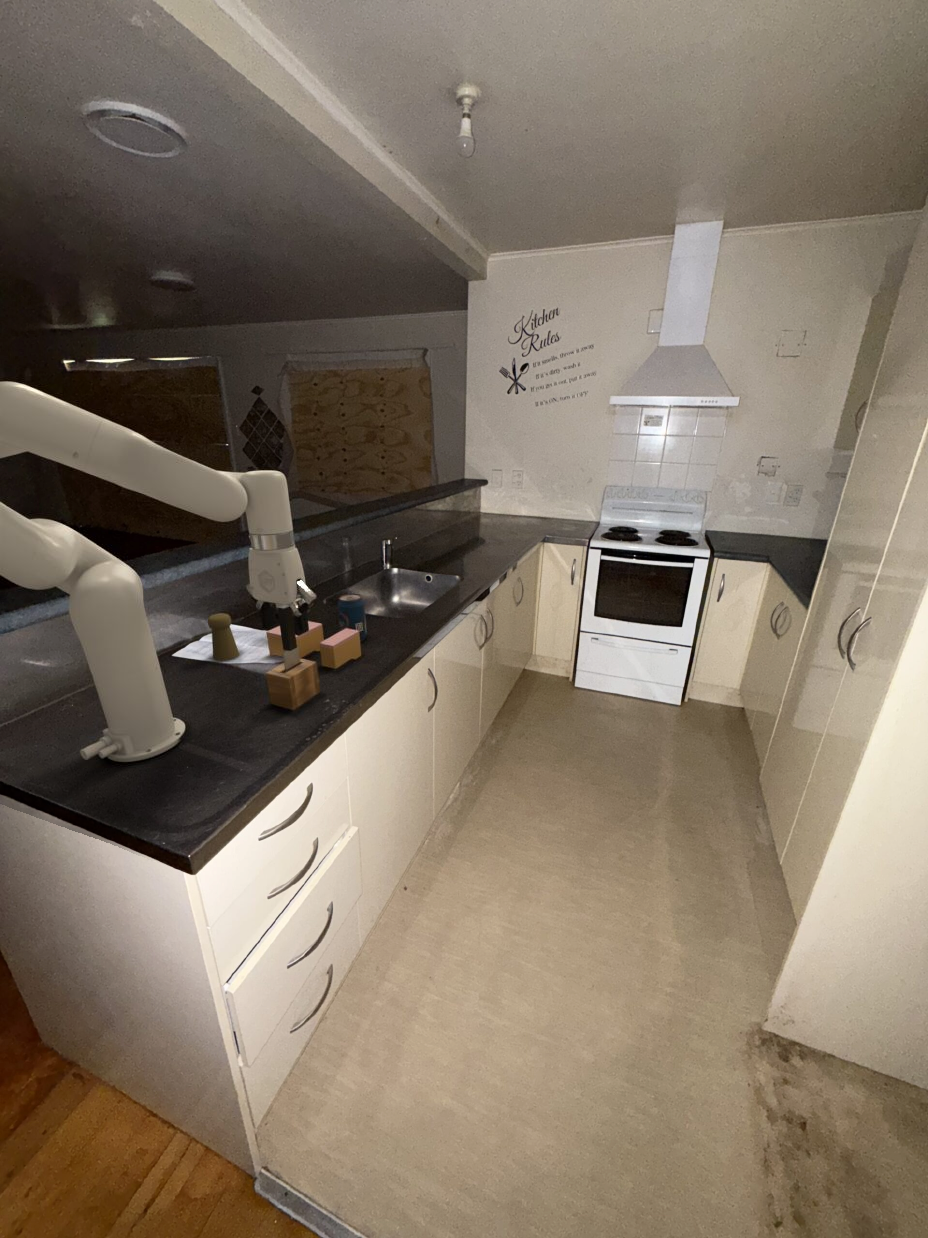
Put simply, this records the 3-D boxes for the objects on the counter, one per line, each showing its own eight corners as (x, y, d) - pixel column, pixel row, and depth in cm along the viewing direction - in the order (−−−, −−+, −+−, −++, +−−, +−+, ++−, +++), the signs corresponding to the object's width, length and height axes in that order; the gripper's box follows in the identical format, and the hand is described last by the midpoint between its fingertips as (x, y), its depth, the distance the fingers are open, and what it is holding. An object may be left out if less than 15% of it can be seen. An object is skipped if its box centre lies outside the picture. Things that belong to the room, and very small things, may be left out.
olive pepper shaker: (207, 659, 120) (198, 618, 116) (224, 649, 125) (216, 609, 121) (228, 662, 118) (220, 620, 114) (244, 652, 124) (237, 611, 120)
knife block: (294, 714, 96) (288, 678, 94) (271, 707, 99) (265, 672, 96) (320, 695, 103) (316, 661, 100) (298, 689, 106) (294, 656, 103)
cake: (297, 663, 118) (294, 637, 115) (270, 657, 121) (265, 631, 119) (324, 647, 126) (322, 623, 124) (298, 642, 130) (294, 618, 127)
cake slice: (336, 672, 113) (333, 645, 111) (322, 669, 115) (319, 643, 112) (361, 655, 122) (359, 630, 119) (348, 652, 123) (345, 628, 121)
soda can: (336, 638, 132) (332, 596, 128) (359, 631, 136) (355, 591, 132) (349, 646, 127) (344, 603, 123) (372, 639, 131) (368, 597, 127)
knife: (293, 702, 99) (280, 610, 92) (287, 700, 99) (272, 608, 92) (307, 693, 102) (295, 603, 95) (300, 691, 103) (288, 602, 96)
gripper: (221, 541, 89) (238, 629, 95) (295, 549, 82) (307, 644, 89) (253, 533, 95) (267, 617, 102) (324, 541, 89) (333, 630, 95)
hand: (285, 629), depth 95 cm, fingers open, 7 cm apart
